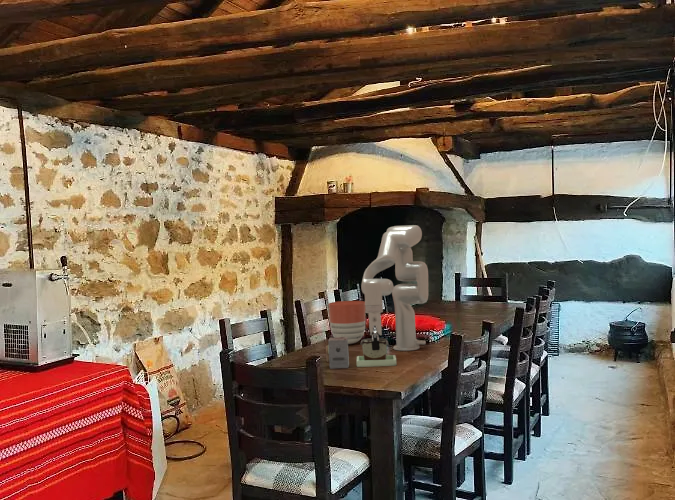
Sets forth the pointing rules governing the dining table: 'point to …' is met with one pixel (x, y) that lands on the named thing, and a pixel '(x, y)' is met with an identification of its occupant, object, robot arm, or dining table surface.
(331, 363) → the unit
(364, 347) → the food container
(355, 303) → the planter
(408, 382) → the dining table surface
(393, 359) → the tray
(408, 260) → the robot arm
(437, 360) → the dining table surface
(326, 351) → the walnut cartridge
